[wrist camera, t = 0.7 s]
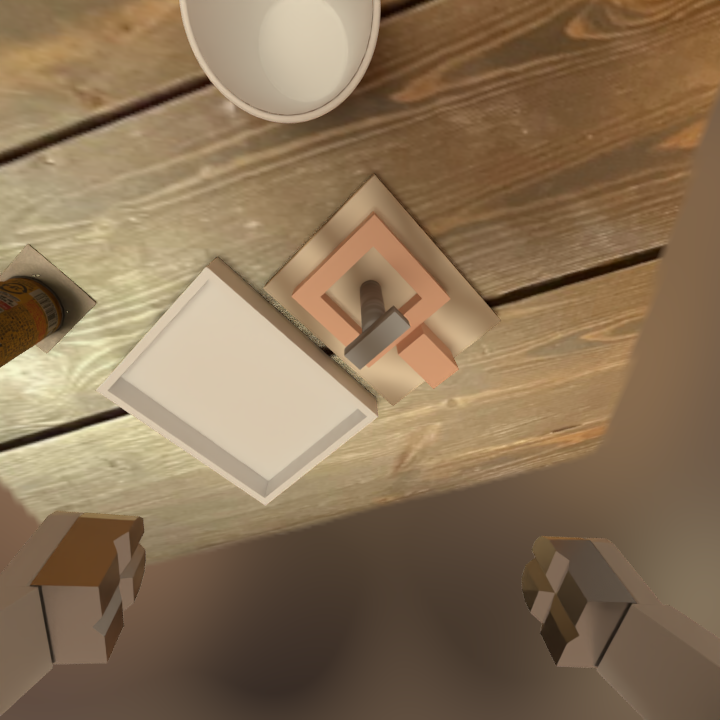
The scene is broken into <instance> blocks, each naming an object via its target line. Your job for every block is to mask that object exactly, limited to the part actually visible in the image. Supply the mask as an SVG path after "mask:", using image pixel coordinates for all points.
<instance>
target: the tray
mask: <svg viewBox="0 0 720 720" xmlns="http://www.w3.org/2000/svg"><path fill="white" fill-rule="evenodd" d="M96 391H97V392H99V393H100V394H102V395H103V396H105V397H106V398H108V399H109V400H111V401H112V402H114V403H115V404H117V405H118V406H119V407H121V408H122V409H124V410H125V411H127V412H128V413H130V414H131V415H133V416H134V417H136V418H137V419H139V420H140V421H142V422H143V423H145V424H146V425H148V426H149V427H150V428H152V429H153V430H155V431H156V432H158V433H159V434H161V435H162V436H164V437H165V438H167V439H168V440H170V441H171V442H173V443H174V444H176V445H177V446H178V447H180V448H181V449H183V450H184V451H186V452H187V453H189V454H190V455H192V456H193V457H195V458H196V459H198V460H199V461H201V462H202V463H204V464H205V465H206V466H208V467H209V468H211V469H212V470H214V471H215V472H217V473H218V474H220V475H221V476H223V477H224V478H226V479H227V480H229V481H230V482H232V483H233V484H235V485H236V486H237V487H239V488H240V489H242V490H243V491H245V492H246V493H248V494H249V495H251V496H252V497H254V498H255V499H257V500H258V501H260V502H261V503H263V504H264V505H267V504H268V503H269V502H270V501H272V500H273V499H274V498H275V497H277V496H278V495H279V494H281V493H282V492H283V491H284V490H286V489H287V488H288V487H289V486H291V485H292V484H293V483H295V482H296V481H297V480H298V479H300V478H301V477H302V476H303V475H305V474H306V473H307V472H309V471H310V470H311V469H312V468H314V467H315V466H316V465H317V464H319V463H320V462H321V461H322V460H324V459H325V458H326V457H328V456H329V455H330V454H331V453H333V452H334V451H335V450H336V449H338V448H339V447H340V446H342V445H343V444H344V443H345V442H347V441H348V440H349V439H350V438H352V437H353V436H354V435H356V434H357V433H358V432H359V431H361V430H362V429H363V428H364V427H366V426H367V425H368V424H370V423H371V422H372V421H373V420H375V419H376V418H377V417H378V410H377V399H376V397H374V396H373V395H372V394H371V393H370V392H369V391H368V390H367V389H365V388H364V387H363V386H362V385H361V384H360V383H359V382H358V381H357V380H355V379H354V378H353V377H352V376H351V375H350V374H349V373H348V372H346V371H345V370H344V369H343V368H342V367H341V366H340V365H339V364H338V363H336V362H335V361H334V360H333V359H332V358H331V357H330V356H329V355H327V354H326V353H325V352H324V351H323V350H322V349H321V348H320V347H318V346H317V345H316V344H315V343H314V342H313V341H312V340H311V339H310V338H308V337H307V336H306V335H305V334H304V333H303V332H302V331H301V330H299V329H298V328H297V327H296V326H295V325H294V324H293V323H292V322H290V321H289V320H288V319H287V318H286V317H285V316H284V315H283V314H282V313H280V312H279V311H278V310H277V309H276V308H275V307H274V306H273V305H271V304H270V303H269V302H268V301H267V300H266V299H265V298H264V297H262V296H261V295H260V294H259V293H258V292H257V291H256V290H255V289H254V288H252V287H251V286H250V285H249V284H248V283H247V282H246V281H245V280H243V279H242V278H241V277H240V276H239V275H238V274H237V273H236V272H234V271H233V270H232V269H231V268H230V267H229V266H228V265H227V264H226V263H224V262H223V261H222V260H221V259H220V258H219V257H217V258H215V259H214V260H213V261H212V262H211V263H210V264H209V265H208V266H206V268H205V269H204V270H203V271H202V272H201V273H200V274H199V275H198V277H197V278H196V279H195V280H194V281H193V282H192V283H191V284H190V285H189V287H188V288H187V289H186V290H185V291H184V292H183V293H182V294H181V296H180V297H179V298H178V299H177V300H176V301H175V302H174V303H173V304H172V306H171V307H170V308H169V309H168V310H167V311H166V312H165V313H164V315H163V316H162V317H161V318H160V319H159V320H158V321H157V322H156V323H155V325H154V326H153V327H152V328H151V329H150V330H149V331H148V332H147V334H146V335H145V336H144V337H143V338H142V339H141V340H140V341H139V342H138V344H137V345H136V346H135V347H134V348H133V349H132V350H131V351H130V353H129V354H128V355H127V356H126V357H125V358H124V359H123V360H122V362H121V363H120V364H119V365H118V366H117V367H116V368H115V369H114V370H113V372H112V373H111V374H110V375H109V376H108V377H107V378H106V379H105V381H104V382H103V383H102V384H101V385H100V386H99V387H98V388H97V389H96Z"/></svg>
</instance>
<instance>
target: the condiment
mask: <svg viewBox="0 0 720 720" xmlns="http://www.w3.org/2000/svg"><path fill="white" fill-rule="evenodd" d="M32 275H35V277H33V276H32ZM36 275H40V276H36ZM95 304H96V303H95V302H94V301H93V300H92V299H91V298H90V297H89V296H88V295H87V294H86V293H85V292H83V291H82V290H81V289H80V288H79V287H78V286H76V285H75V284H74V282H72V281H71V280H70V279H69V278H68V277H67V276H65V275H64V274H63V273H62V272H61V271H60V270H59V269H58V268H56V267H55V266H53V265H52V264H51V263H50V262H49V261H47V260H46V259H45V258H44V257H43V256H42V255H41V254H39V253H38V252H37V251H36V250H34V249H33V248H32V247H31V246H30V245H29V244H27V245H26V246H25V248H24V249H23V250H22V251H21V252H20V254H19V255H18V256H17V257H16V258H15V259H14V261H13V262H12V263H11V264H10V265H9V266H8V267H7V268H6V270H5V271H4V272H3V273H2V275H1V276H0V367H2V366H3V365H5V364H6V363H8V362H9V361H11V360H12V359H14V358H15V357H17V356H18V355H20V354H22V353H23V352H25V351H26V350H28V349H29V348H31V347H33V346H34V345H36V346H37V347H39V348H40V349H41V350H43V351H44V352H45V353H48V352H49V351H50V350H51V349H52V348H53V347H54V346H55V345H56V344H57V343H58V342H59V341H60V340H61V339H62V338H63V337H64V336H65V335H66V334H67V333H68V332H69V331H70V329H72V327H73V326H74V325H75V324H76V323H77V322H78V321H79V320H80V319H81V318H82V317H83V316H84V315H85V314H86V313H87V312H88V311H89V310H90V309H91V308H92V307H93V306H94V305H95ZM67 311H68V313H67Z"/></svg>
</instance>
